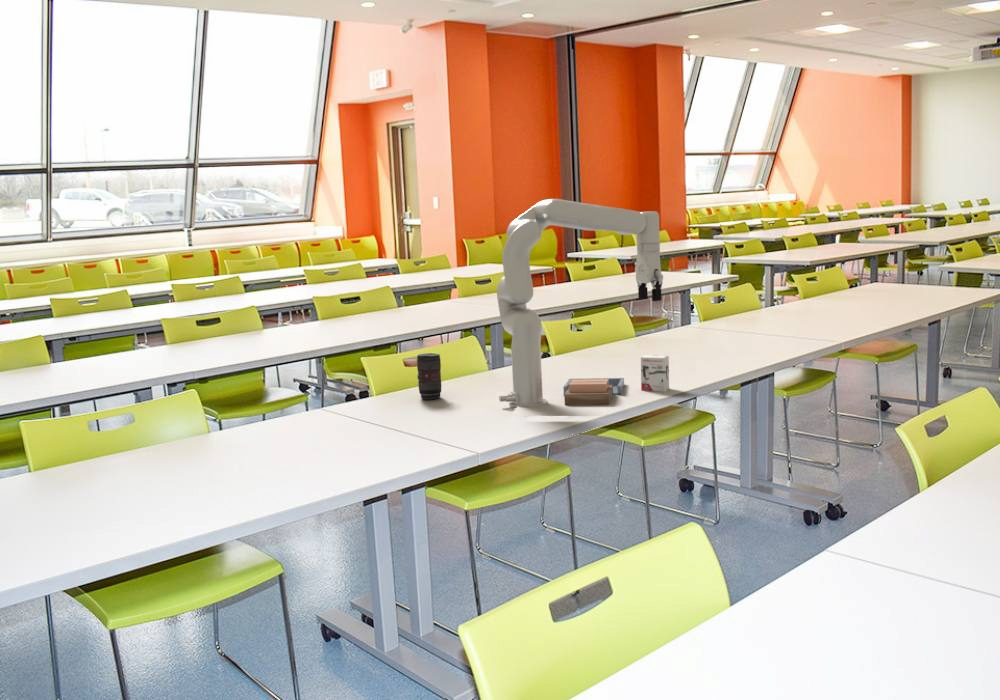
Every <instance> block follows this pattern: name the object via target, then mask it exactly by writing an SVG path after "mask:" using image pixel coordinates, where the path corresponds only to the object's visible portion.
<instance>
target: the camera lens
mask: <svg viewBox="0 0 1000 700" xmlns="http://www.w3.org/2000/svg"><path fill="white" fill-rule="evenodd" d="M441 366H442V363H441V355H440V354H439V353H419V354H417V357H416V367H417V376H416V377H417V380H418V382H417V383H418V384H417V385H418V390H419V394H420V398H421V399H423V400H433V399H438V398H441V393H442V375H441V374H442V372H441V368H442V367H441Z"/></svg>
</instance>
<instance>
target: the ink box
mask: <svg viewBox="0 0 1000 700" xmlns="http://www.w3.org/2000/svg"><path fill="white" fill-rule="evenodd" d="M640 381H641V382H640V386H641V388H640V389H641V390H640V391H646V392H647V391H648V392H664V393H665V392H667V391H668V390H669V389H670V358H669V355H666V354H664V355H663V354H644V355H642V356H641V357H640Z"/></svg>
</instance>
